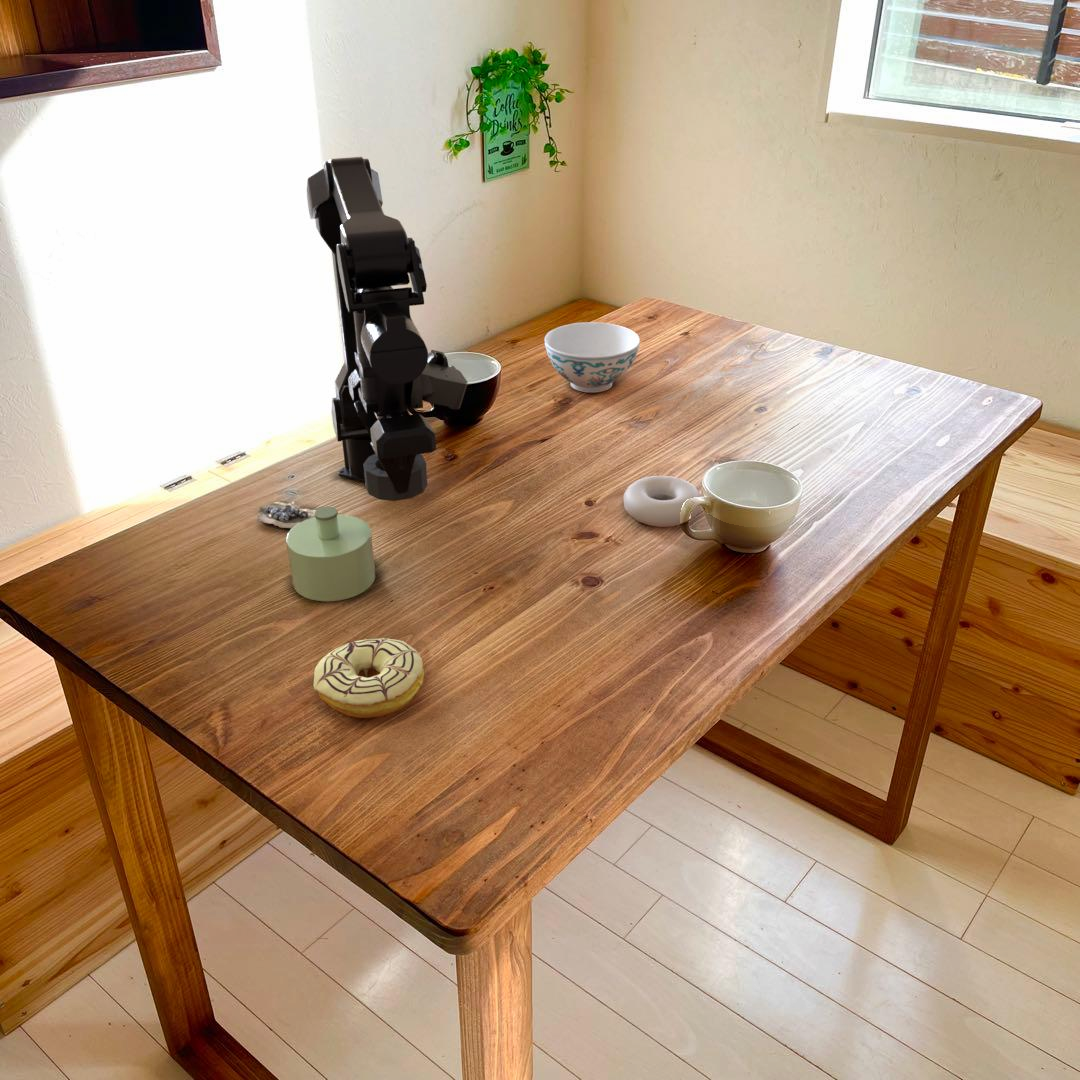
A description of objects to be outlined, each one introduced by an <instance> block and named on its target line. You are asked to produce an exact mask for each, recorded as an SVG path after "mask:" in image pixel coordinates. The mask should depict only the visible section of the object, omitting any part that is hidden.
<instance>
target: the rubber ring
mask: <svg viewBox="0 0 1080 1080" xmlns="http://www.w3.org/2000/svg"><path fill="white" fill-rule="evenodd" d="M363 467H364V476H365V483H364V484H365V485H364V486H365V489H366V492H367V494H368V495H369V496H370V497H373V498H375V499H377V500H380V501H388V502H389V501H390V502H397V501H403V500H410V499H413V498H415V497H417V496H419V495H421V494H423V493H424V491H425V490H426V488H427V486H428V473H427V471H428V470H427V462H426V460H425V457H424V455H423V454H417V455H416V457H415V460H414V464H413V468H412V473H411V477H410V482H409V486H408V491H407V492H406V493H401V494H398V493H397V492H396V490H395V488H394V486H393V484H392V482H391V481H390V479H389V477H388V475H387V473H386V472H385V470H384V468H383V466H382V464H381V463H380V461H379V459H378V457H377V456H376V454H374V455H372V456H370V457H368V459H367V460H366V461H365V463H364V464H363Z"/></svg>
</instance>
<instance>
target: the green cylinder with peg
mask: <svg viewBox="0 0 1080 1080" xmlns="http://www.w3.org/2000/svg"><path fill="white" fill-rule="evenodd" d="M315 510H316V511H315V512H314V515H315V517H313V518H310V519H307V520H304V521H302V522H300V523H299V524H297V525H296V526H294V527H293V528H292V529H291V528H290V530H289V531H288V532H287V535H286V539H285V541H286V549H287V555H288V563H289V568H290V575H291V582H292V587H293V590H295V592H296V593H297V594H299V595H300V596H301V597H303V598H306V599H308V600H311V601H316V602H338V601H344V600H347V599H351V598H354V597H356V596H358V595H361V594H362V593H364V592H366V591H367V590H368V589H369V588H370V587H371V586H372V585H373V584H374V581H375V580H376V565H375V556H374V555H375V554H374V546H373V537H372V528H371V526H370V525H369V524H368V522H366V521H365V520H364V519H361V518H360V517H357V516H354V515H350V514H344V513H343V514H342V513H338V509H337V508H336V507H334V506H322V507H319V508H317V509H315Z"/></svg>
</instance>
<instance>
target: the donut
mask: <svg viewBox="0 0 1080 1080" xmlns="http://www.w3.org/2000/svg"><path fill="white" fill-rule="evenodd" d="M694 497H701V494H700V491H699V490H698V489H697V487H695V486H694V485H693V484H692V483H690V482H689V481H688V480H685V479H683V478H679V477H676V476H670V475H651V476H645V477H642V478H639V479H636V480H635V481H634V482H632V483H631V484H630V485H628V487H627V488H626V490H625V491H624V493H623V499H622V500H623V507H624V509H625V511H626V512H627V514H628V515H629V516H630V517H631V518H633V519H634V520H636V521H637V522H638V523H641V524H645V525H647V526H652V527H658V528H659V527H662V528H663V527H664V528H667V527H669V528H670V527H676V526H681V525H680V512H681V508H682V505H683V503H684V502H685V501H686V500H687V499H690V498H694ZM701 508H702V505H701V506H698V507H696V508H695V509H694V510H693V511H692V513H691V519H690V521H691V520H692V519H694V518H695V517H697V515H698V514H699V512H700V510H701Z"/></svg>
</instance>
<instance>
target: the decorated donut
mask: <svg viewBox="0 0 1080 1080" xmlns="http://www.w3.org/2000/svg"><path fill="white" fill-rule="evenodd" d="M424 669H425V668H424V665H423V659H422V656H421V654H420V653H419V652H418V651H417V650H416V649H415V648H414V647H412V646H411V645H409V644H408V643H407V642H405V641H403V640H400V639H392V638H388V637H376V638H364V639H358V640H354V641H351V642H348V643H345V644H343V645H341V646H339V647H337V648H335V649H333V650H331V651H330V652H328V653H327V654H326V655H324V656H323V657H322V658H321V659H320V661H318V663H317V664H316V666H315V668H314V673H313V674H314V675H313V689H314V691H315V692H317V695H318V696H319V698H320V700H321V701H323V702H324V703H325V704H326V705H328V706H329V707H330V708H331V709H333V710H335V711H337V712H338V713H341V714H344V715H346V716H348V717H353V718H357V719H370V718H377V717H378V718H379V717H383V716H386V715H390V714H392V713H395V712H398V711H400V710H401V709H403V708H404V707H405V706H407V705H408V704H409V703H410V702H411V701H412V700H413V698H414V697H415V695H416V694H417V693H418V692H419V691H420V687H421V686H422V685H423V683H424V676H425V670H424Z"/></svg>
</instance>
